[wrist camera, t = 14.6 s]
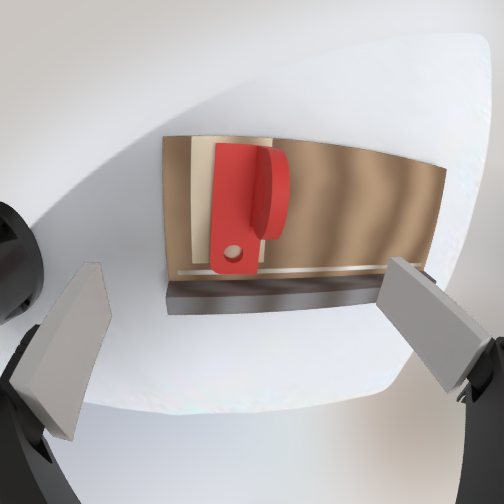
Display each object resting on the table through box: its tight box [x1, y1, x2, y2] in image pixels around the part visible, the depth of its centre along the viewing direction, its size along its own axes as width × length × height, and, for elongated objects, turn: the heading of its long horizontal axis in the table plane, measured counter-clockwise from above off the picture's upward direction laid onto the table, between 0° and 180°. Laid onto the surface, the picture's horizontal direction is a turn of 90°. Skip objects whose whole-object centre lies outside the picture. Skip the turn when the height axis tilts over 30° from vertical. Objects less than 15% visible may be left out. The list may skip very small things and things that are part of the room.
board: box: [163, 136, 447, 315], centre depth 27 cm, size 32×16×5 cm, turn 87°
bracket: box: [210, 143, 290, 275], centre depth 21 cm, size 12×4×8 cm, turn 175°
